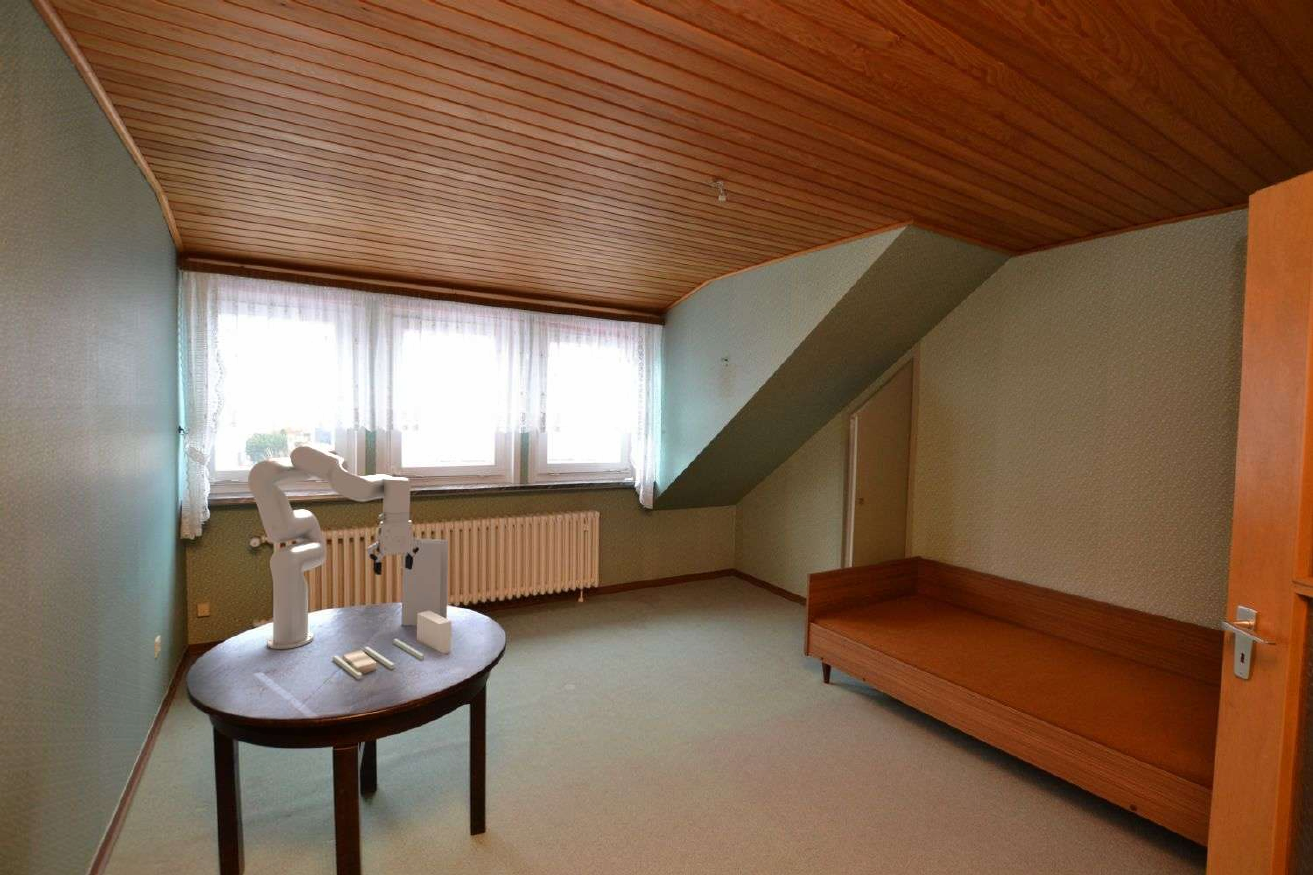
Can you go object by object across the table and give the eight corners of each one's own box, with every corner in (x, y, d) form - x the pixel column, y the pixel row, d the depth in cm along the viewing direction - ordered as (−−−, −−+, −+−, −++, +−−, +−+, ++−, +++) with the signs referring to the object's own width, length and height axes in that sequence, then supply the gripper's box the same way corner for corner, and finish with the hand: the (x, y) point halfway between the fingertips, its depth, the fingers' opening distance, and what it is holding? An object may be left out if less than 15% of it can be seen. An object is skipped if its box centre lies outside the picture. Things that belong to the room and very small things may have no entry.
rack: (332, 664, 169) (333, 656, 169) (396, 646, 184) (396, 638, 183) (358, 683, 157) (358, 675, 157) (424, 662, 172) (424, 654, 172)
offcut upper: (342, 661, 168) (342, 654, 168) (360, 656, 172) (360, 649, 172) (357, 674, 160) (357, 667, 160) (376, 669, 164) (376, 662, 164)
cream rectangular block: (416, 643, 187) (417, 613, 186) (428, 639, 190) (428, 610, 189) (438, 655, 178) (439, 624, 177) (450, 651, 181) (451, 620, 180)
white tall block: (446, 622, 206) (448, 540, 205) (439, 627, 201) (441, 543, 200) (409, 619, 208) (410, 538, 207) (401, 624, 202) (402, 541, 201)
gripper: (373, 521, 168) (370, 579, 168) (428, 516, 181) (425, 569, 182) (361, 517, 172) (359, 573, 173) (416, 512, 186) (413, 564, 186)
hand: (393, 571), depth 177 cm, fingers open, 9 cm apart
